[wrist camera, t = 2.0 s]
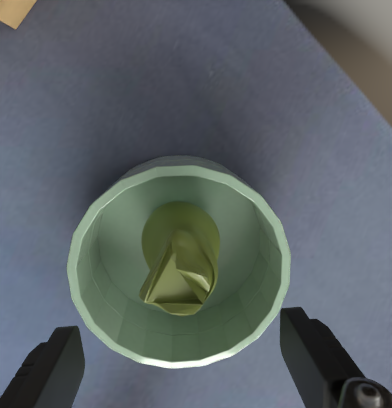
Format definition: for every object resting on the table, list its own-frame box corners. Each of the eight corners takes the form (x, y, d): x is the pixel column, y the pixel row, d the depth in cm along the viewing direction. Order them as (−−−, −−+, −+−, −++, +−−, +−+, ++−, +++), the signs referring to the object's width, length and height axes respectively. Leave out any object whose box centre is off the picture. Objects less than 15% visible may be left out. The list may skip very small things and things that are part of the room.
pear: (192, 268, 25) (202, 357, 16) (134, 242, 24) (106, 320, 15) (224, 210, 24) (255, 269, 15) (164, 181, 23) (155, 223, 14)
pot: (62, 193, 24) (25, 216, 18) (234, 127, 23) (253, 130, 17) (135, 336, 27) (123, 394, 22) (284, 283, 27) (313, 327, 21)
